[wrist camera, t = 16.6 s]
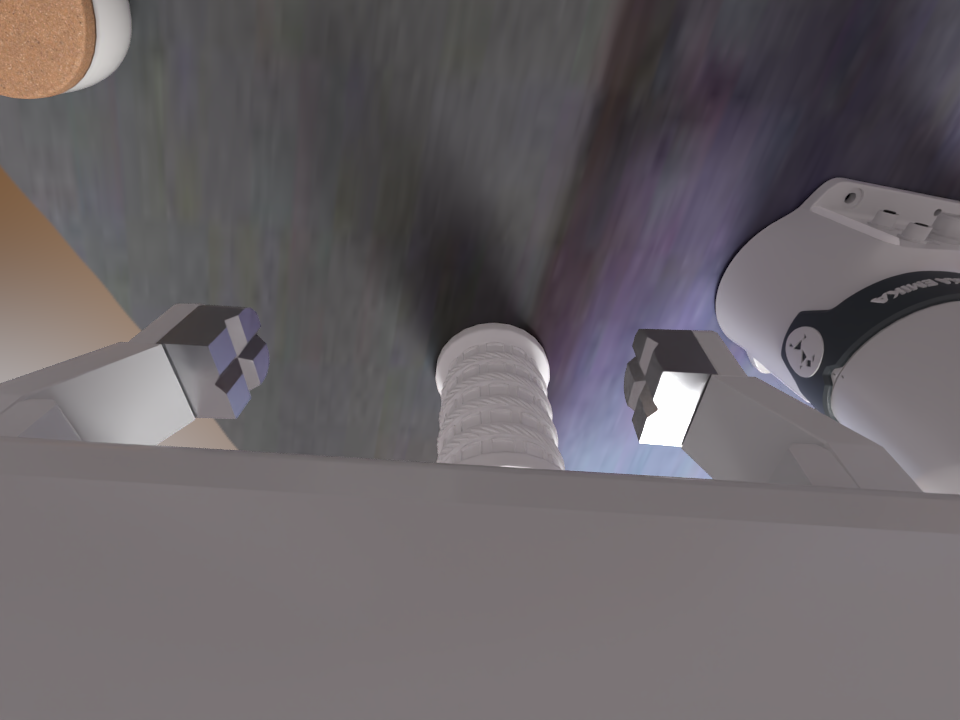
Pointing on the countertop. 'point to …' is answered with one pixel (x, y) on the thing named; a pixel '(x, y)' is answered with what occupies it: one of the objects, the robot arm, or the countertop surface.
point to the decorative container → (495, 400)
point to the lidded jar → (60, 44)
